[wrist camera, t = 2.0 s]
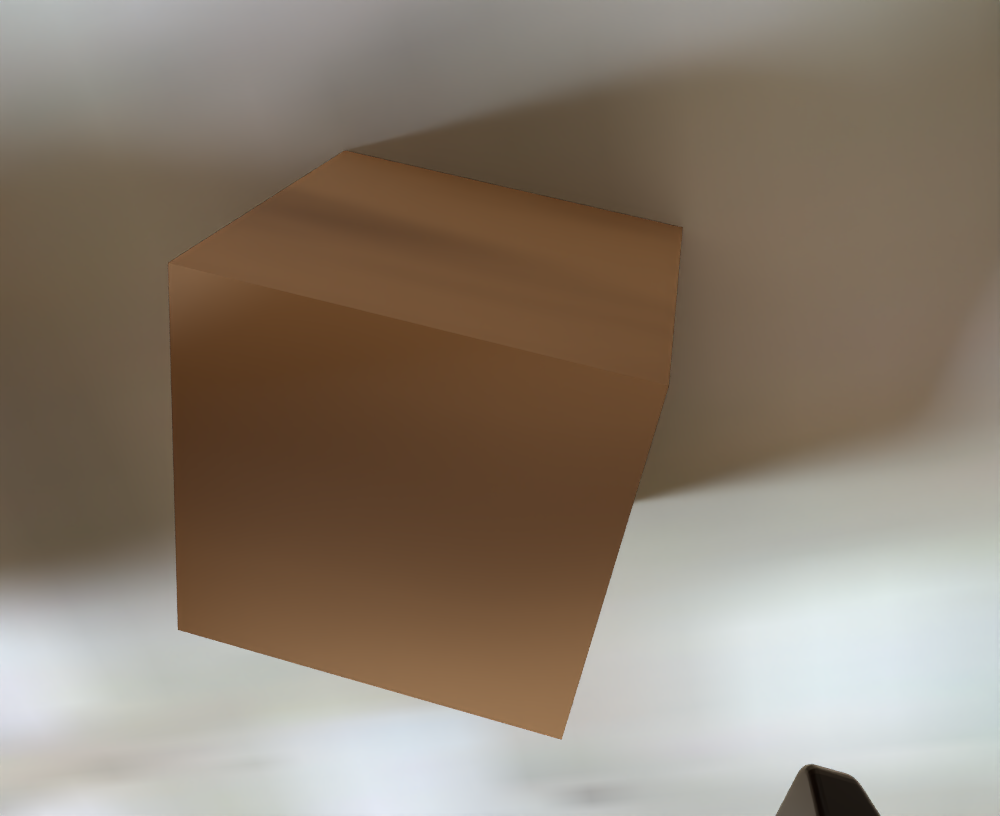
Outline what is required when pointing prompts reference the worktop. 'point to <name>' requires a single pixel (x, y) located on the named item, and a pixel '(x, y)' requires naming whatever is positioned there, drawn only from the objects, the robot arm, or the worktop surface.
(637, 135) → the worktop surface
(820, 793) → the robot arm
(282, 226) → the walnut cube
